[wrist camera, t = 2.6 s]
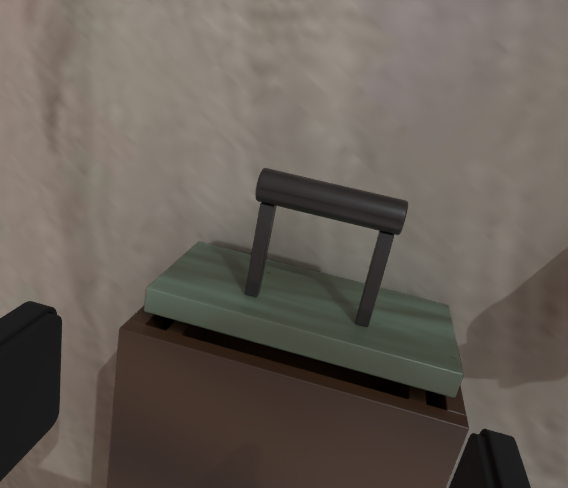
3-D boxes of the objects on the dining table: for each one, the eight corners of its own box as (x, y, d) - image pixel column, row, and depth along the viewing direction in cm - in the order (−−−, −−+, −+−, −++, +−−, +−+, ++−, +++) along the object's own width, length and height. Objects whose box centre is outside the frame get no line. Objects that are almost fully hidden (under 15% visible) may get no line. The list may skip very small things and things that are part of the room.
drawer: (213, 135, 25) (158, 155, 19) (485, 197, 24) (515, 239, 18) (170, 449, 33) (121, 532, 27) (377, 514, 31) (373, 618, 25)
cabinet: (190, 260, 29) (118, 328, 21) (449, 328, 27) (469, 428, 19) (163, 469, 34) (98, 580, 27) (376, 537, 33) (370, 677, 25)
